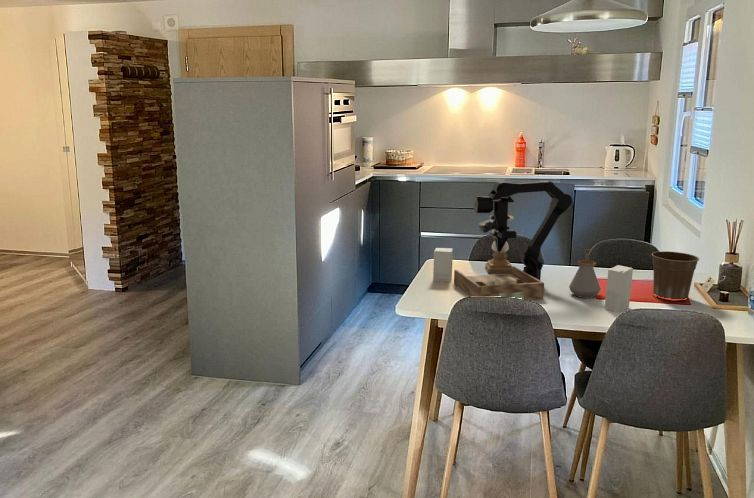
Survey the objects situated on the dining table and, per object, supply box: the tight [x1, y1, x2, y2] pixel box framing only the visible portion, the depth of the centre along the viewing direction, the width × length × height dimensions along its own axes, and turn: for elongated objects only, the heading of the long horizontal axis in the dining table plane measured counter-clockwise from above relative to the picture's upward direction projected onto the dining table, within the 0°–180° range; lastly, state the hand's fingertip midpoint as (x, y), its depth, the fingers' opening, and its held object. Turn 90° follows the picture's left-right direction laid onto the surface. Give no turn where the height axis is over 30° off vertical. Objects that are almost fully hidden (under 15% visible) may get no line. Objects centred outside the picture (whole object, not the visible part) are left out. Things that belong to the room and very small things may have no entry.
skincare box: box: [604, 264, 634, 313], centre depth 237 cm, size 8×6×15 cm
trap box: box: [453, 265, 545, 300], centre depth 259 cm, size 26×26×6 cm
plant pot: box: [651, 250, 700, 299], centre depth 250 cm, size 16×16×16 cm
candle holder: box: [484, 214, 515, 275], centre depth 288 cm, size 11×11×24 cm
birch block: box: [495, 276, 517, 285], centre depth 250 cm, size 6×6×4 cm
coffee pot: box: [568, 248, 602, 299], centre depth 258 cm, size 21×12×15 cm, turn 162°
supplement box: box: [432, 247, 454, 283], centre depth 274 cm, size 7×7×13 cm
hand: (498, 251), depth 268 cm, fingers closed
